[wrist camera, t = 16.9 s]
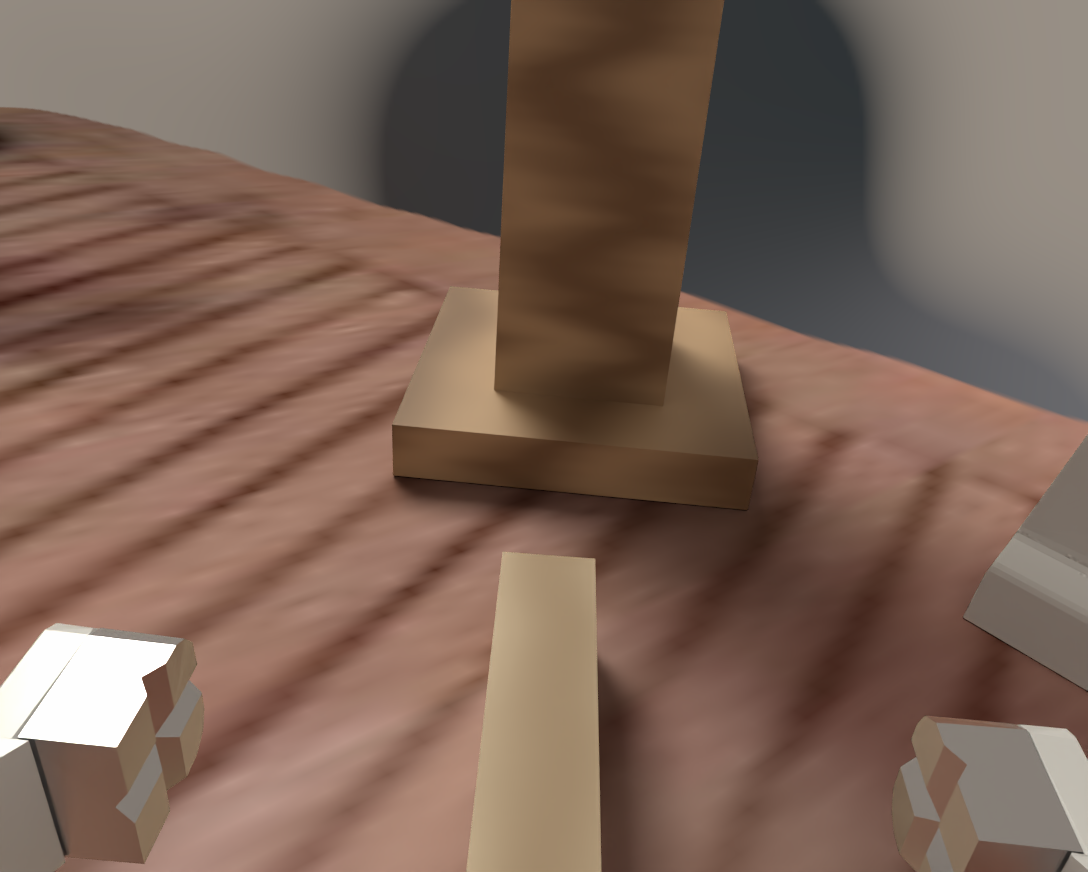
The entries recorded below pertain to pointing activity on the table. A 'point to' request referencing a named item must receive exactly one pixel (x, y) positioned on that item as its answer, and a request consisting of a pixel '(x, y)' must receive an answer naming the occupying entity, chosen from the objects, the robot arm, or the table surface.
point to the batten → (540, 723)
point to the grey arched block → (1044, 579)
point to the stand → (591, 279)
